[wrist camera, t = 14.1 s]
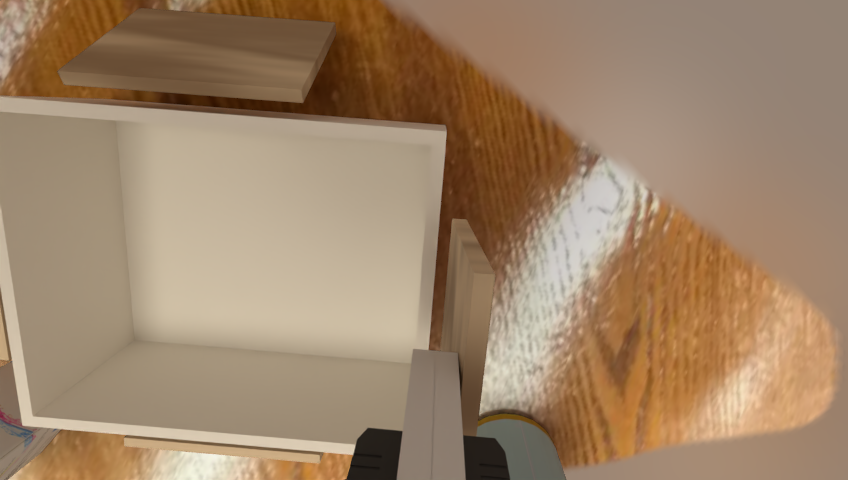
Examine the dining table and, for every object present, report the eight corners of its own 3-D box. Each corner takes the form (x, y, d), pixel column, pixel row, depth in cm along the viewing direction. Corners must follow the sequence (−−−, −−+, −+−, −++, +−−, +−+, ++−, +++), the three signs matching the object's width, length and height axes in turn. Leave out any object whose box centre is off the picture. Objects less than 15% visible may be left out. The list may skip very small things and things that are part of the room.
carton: (96, 97, 29) (-51, 93, 20) (445, 124, 29) (446, 131, 20) (120, 353, 34) (8, 438, 25) (424, 379, 33) (417, 474, 25)
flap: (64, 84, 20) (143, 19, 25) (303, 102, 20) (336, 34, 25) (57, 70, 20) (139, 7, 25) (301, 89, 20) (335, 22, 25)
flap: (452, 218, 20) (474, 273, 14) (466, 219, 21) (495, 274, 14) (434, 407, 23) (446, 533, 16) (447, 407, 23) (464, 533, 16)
